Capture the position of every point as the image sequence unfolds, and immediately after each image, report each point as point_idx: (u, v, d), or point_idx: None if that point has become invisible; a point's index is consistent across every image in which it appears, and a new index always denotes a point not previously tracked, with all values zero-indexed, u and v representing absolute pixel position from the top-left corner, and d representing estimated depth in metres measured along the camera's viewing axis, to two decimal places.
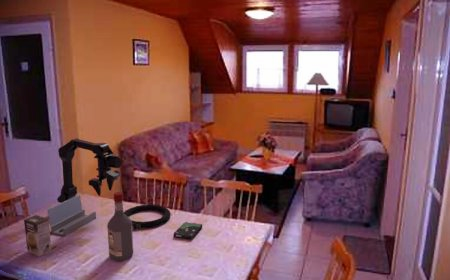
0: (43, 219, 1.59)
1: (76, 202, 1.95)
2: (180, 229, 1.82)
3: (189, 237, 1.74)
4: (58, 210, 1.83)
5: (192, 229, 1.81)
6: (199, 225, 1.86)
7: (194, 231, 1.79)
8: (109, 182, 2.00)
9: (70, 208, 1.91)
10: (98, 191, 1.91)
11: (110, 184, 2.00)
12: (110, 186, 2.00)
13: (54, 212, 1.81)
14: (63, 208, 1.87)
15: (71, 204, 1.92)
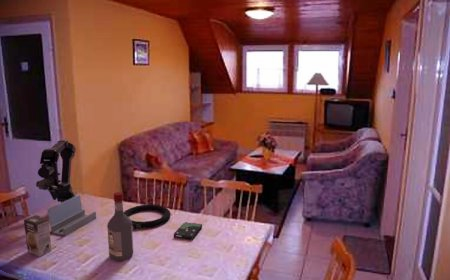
0: (43, 219, 1.59)
1: (76, 202, 1.95)
2: (180, 229, 1.81)
3: (189, 237, 1.74)
4: (58, 210, 1.83)
5: (192, 229, 1.81)
6: (199, 225, 1.86)
7: (194, 231, 1.79)
8: None
9: (70, 208, 1.91)
10: None
11: None
12: None
13: (54, 212, 1.81)
14: (63, 208, 1.87)
15: (71, 204, 1.92)
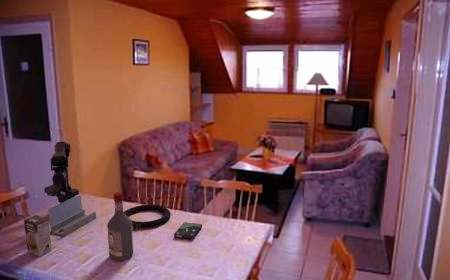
0: (43, 219, 1.59)
1: (76, 202, 1.95)
2: (180, 229, 1.81)
3: (190, 237, 1.74)
4: (58, 210, 1.83)
5: (192, 229, 1.81)
6: (199, 225, 1.86)
7: (194, 231, 1.79)
8: None
9: (70, 208, 1.91)
10: None
11: None
12: None
13: (54, 212, 1.81)
14: (63, 208, 1.87)
15: (71, 204, 1.92)
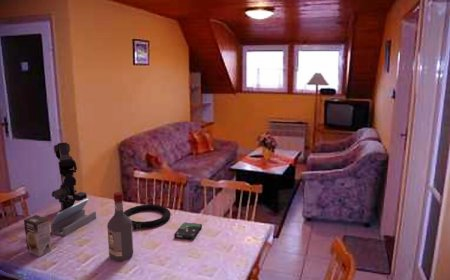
0: (43, 219, 1.59)
1: (82, 205, 1.94)
2: (180, 229, 1.81)
3: (190, 237, 1.74)
4: (64, 213, 1.82)
5: (192, 229, 1.81)
6: (199, 225, 1.86)
7: (195, 231, 1.79)
8: None
9: (74, 210, 1.90)
10: None
11: None
12: None
13: (60, 215, 1.80)
14: (69, 211, 1.86)
15: (77, 207, 1.91)
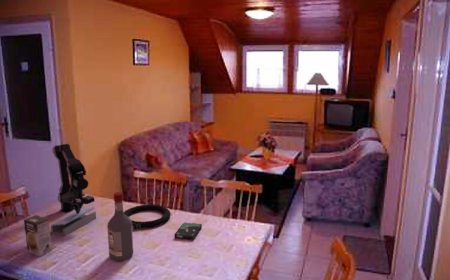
0: (43, 219, 1.59)
1: None
2: (180, 229, 1.81)
3: (190, 237, 1.74)
4: None
5: (192, 229, 1.81)
6: (199, 225, 1.86)
7: (195, 231, 1.79)
8: None
9: None
10: None
11: None
12: None
13: None
14: None
15: None
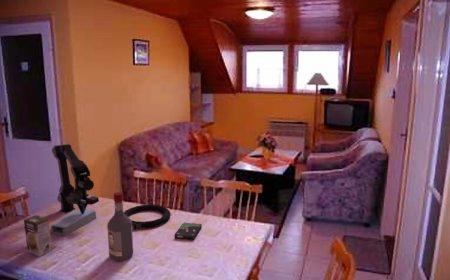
0: (43, 219, 1.59)
1: None
2: (180, 229, 1.81)
3: (191, 237, 1.74)
4: None
5: (192, 229, 1.81)
6: (199, 225, 1.86)
7: (195, 231, 1.79)
8: None
9: None
10: None
11: None
12: None
13: None
14: None
15: None
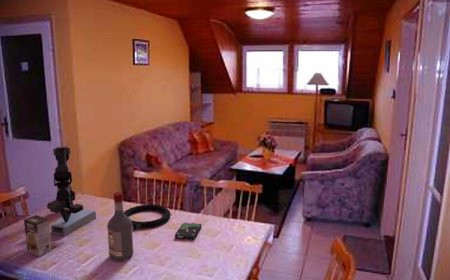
0: (43, 219, 1.59)
1: None
2: (180, 230, 1.81)
3: (191, 237, 1.74)
4: None
5: (192, 229, 1.81)
6: (198, 225, 1.86)
7: (195, 231, 1.79)
8: None
9: None
10: None
11: None
12: None
13: None
14: None
15: None
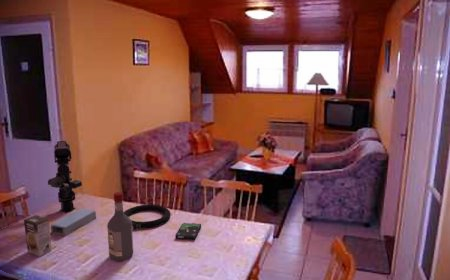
0: (43, 219, 1.59)
1: None
2: (180, 230, 1.80)
3: (192, 237, 1.74)
4: None
5: (192, 229, 1.81)
6: (198, 225, 1.86)
7: (195, 231, 1.79)
8: None
9: None
10: None
11: None
12: None
13: None
14: None
15: None
